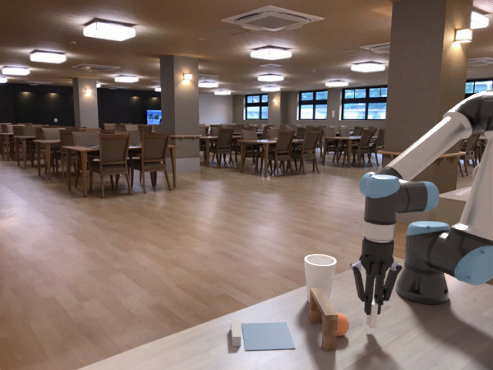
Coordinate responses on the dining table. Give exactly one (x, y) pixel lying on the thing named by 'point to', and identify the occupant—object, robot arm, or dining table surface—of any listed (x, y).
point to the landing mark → (267, 336)
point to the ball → (342, 325)
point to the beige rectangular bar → (235, 333)
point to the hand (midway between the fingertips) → (371, 325)
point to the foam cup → (319, 273)
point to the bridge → (324, 318)
